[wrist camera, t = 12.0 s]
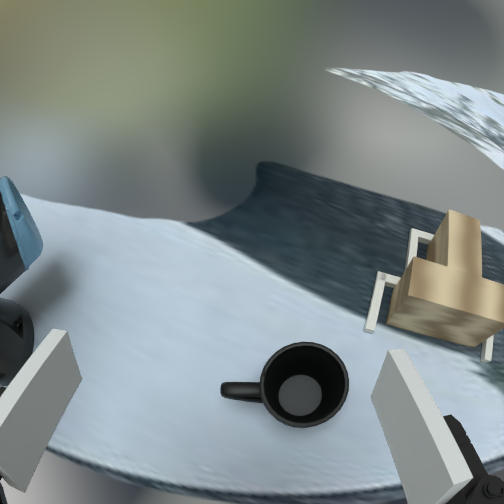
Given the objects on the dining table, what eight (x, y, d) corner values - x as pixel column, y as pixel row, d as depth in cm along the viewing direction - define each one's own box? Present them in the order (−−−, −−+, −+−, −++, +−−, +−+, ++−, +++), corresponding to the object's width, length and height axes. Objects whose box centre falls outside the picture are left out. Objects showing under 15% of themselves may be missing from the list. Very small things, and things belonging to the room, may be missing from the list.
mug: (234, 364, 38) (219, 342, 30) (332, 360, 37) (346, 338, 29) (232, 429, 34) (216, 427, 26) (335, 426, 33) (351, 423, 25)
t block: (385, 324, 38) (408, 295, 31) (401, 238, 45) (418, 199, 37) (473, 347, 35) (508, 324, 27) (478, 263, 41) (504, 229, 34)
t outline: (363, 331, 38) (365, 328, 37) (385, 225, 46) (387, 220, 45) (486, 362, 33) (491, 360, 32) (490, 258, 41) (494, 255, 40)
